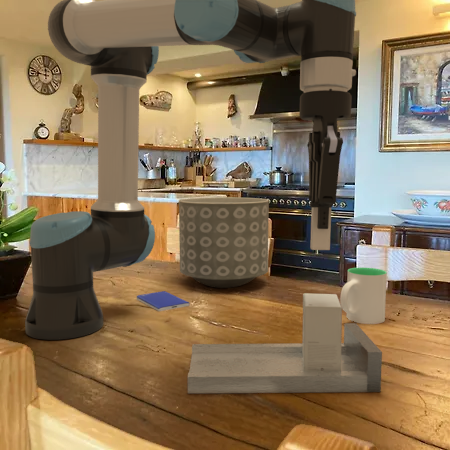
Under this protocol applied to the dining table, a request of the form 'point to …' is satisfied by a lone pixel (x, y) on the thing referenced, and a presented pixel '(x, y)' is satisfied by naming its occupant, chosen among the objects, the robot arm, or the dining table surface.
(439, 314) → the dining table surface
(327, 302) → the small box
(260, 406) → the dining table surface
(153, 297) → the hard drive
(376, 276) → the mug
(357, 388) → the tray
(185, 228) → the planter
